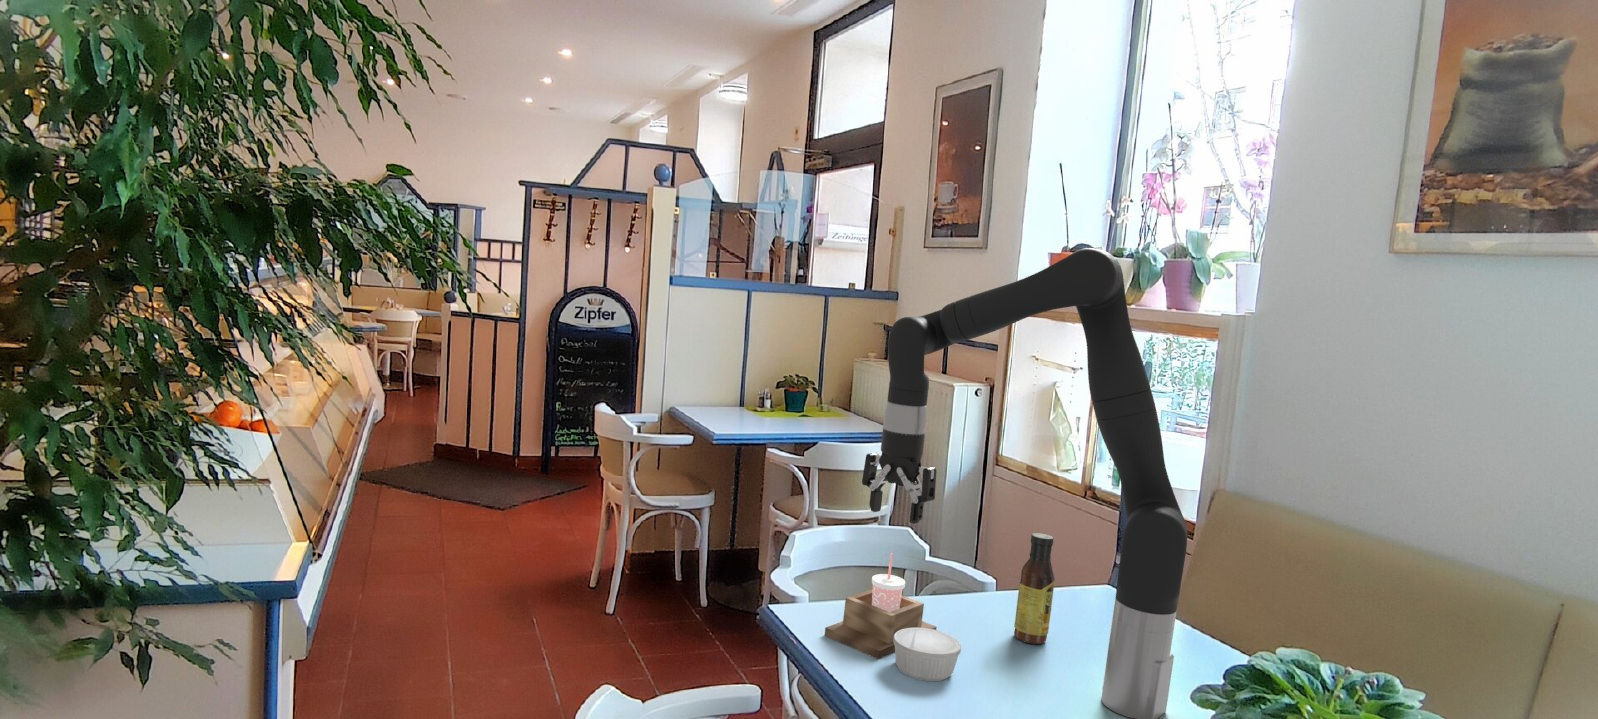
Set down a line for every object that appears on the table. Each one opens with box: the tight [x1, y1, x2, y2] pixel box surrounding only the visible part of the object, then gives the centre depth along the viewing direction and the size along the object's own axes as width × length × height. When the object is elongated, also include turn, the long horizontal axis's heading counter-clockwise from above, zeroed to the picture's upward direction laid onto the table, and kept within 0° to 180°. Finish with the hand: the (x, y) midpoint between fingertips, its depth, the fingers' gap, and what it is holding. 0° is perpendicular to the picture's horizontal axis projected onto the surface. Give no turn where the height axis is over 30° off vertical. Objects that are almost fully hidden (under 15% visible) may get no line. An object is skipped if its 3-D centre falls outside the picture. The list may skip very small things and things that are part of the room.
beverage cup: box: [871, 552, 906, 612], centre depth 165 cm, size 6×6×14 cm
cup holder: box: [824, 588, 938, 660], centre depth 166 cm, size 12×18×6 cm, turn 139°
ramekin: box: [893, 628, 962, 682], centre depth 153 cm, size 11×11×5 cm
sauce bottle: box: [1013, 532, 1056, 645], centre depth 171 cm, size 7×6×20 cm
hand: (894, 516), depth 164 cm, fingers open, 8 cm apart
